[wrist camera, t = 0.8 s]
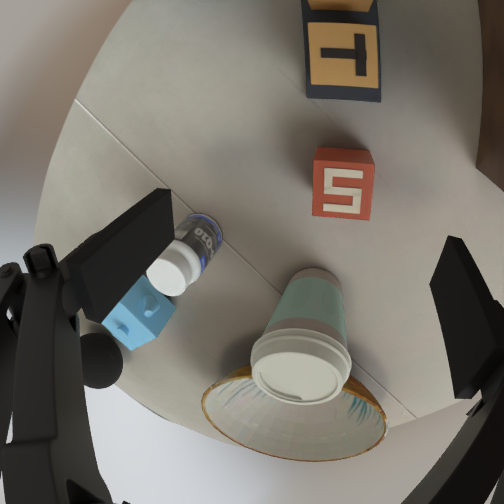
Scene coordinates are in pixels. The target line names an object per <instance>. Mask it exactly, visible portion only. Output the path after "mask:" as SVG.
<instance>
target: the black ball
mask: <svg viewBox="0 0 504 504" xmlns="http://www.w3.org/2000/svg"><path fill="white" fill-rule="evenodd" d="M80 346H81V361H82V372H83V382H84V385H86V386H88V387H90V388H95V389H102V388H106V387H109V386H111V385H112V384H114V383H115V382H116V381H117V380H118V378H119V377H120V375H121V372H122V369H123V358H122V354H121V351H120V349H119V348H118V346H117V345H116V343H115V342H114V341H113V340H111V339H110V338H109V337H107V336H105V335H102V334H99V333H89V334H85V335H83V336H81V337H80Z"/></svg>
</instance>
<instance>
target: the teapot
mask: <svg viewBox="0 0 504 504" xmlns="http://www.w3.org/2000/svg"><path fill="white" fill-rule="evenodd" d="M175 309H176V307H175V306H174V305H173V304H172V303H171V302H170V300H169V299H168V298H166V297H165V296H164V295H163V294H162V293H161V292H159V291H158V290H157V289H156V288H155V287H154V286H153V285H152V284H151V283H150V281H149V279H148V278H146V277H145V276H144V275H142V276H141V277H140V278H139V279H138V281H137V282H136V283H135V284H134V285H133V286H132V287H131V289H130V290H129V291H128V292H127V293H126V294H125V296H124V297H123V298H122V299H121V300H120V301H119V303H118V304H117V305H116V306H115V307H114V309H113V310H112V311H111V312H110V313H109V315H108V316H107V317H106V318H105V319H104V321H103V322H102V324H103V325H104V326H105V327H106V328H107V329H108V330H109V331H110V332H111V333H112V335H113V336H114V337H116V338H117V339H118V340H119V341H121V342H122V343H123V344H124V345H125V346H126V347H127V348H128V349H129V350H130V351H131V350H133V349H135V348H137V347H139V346H141V345H143V344H145V343H147V342H149V341H151V340H153V339H155V338H157V337H158V335H159V334H160V332H161V331H162V329H163V328H164V326H165V325H166V323H167V322H168V320H169V318H170V317H171V315H172V314H173V312H174V311H175Z"/></svg>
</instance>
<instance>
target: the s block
mask: <svg viewBox="0 0 504 504" xmlns="http://www.w3.org/2000/svg"><path fill="white" fill-rule="evenodd" d="M374 169H375V164H374V161H373V159H372V156H371V154H370V151H369V150H359V149H346V148H331V147H317V150H316V153H315V156H314V159H313V204H312V215H313V216H322V217H335V218H347V219H359V220H370V213H371V203H372V193H373V181H374Z"/></svg>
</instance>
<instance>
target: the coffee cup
mask: <svg viewBox="0 0 504 504" xmlns="http://www.w3.org/2000/svg"><path fill="white" fill-rule="evenodd" d="M250 362H251V367H252V377H253V380H254V382H255V383H256V385H257V386H258V387H259V388H260V389H261V390H262V391H263V392H265V393H266V394H267V395H269V396H271V397H273V398H275V399H277V400H280V401H283V402H287V403H291V404H298V405H313V404H319V403H323V402H326V401H328V400H331V399H332V398H334V397H335V396H336V395H338V394H339V392H340V391H341V389H342V387H343V385H344V383H345V382H346V381H347V379H348V377H349V373H350V371H351V366H352V362H351V358H350V355H349V353H348V351H347V339H346V327H345V317H344V307H343V298H342V289H341V285H340V283H339V281H338V280H337V278H336V277H335V276H334V275H332V274H331V273H329V272H327V271H325V270H322V269H317V268H310V269H304V270H301V271H299V272H298V273H296V274H295V275H294V276H293V277H292V278H291V280H290V281H289V283H288V285H287V287H286V289H285V291H284V293H283V295H282V297H281V299H280V301H279V303H278V305H277V307H276V309H275V311H274V313H273V315H272V317H271V319H270V321H269V323H268V325H267V327H266V329H265V331H264V333H263V335H262V337H261V338H259V339H258V340H257V341H256V342H255V344H254V345H253V348H252V351H251V359H250Z"/></svg>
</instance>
